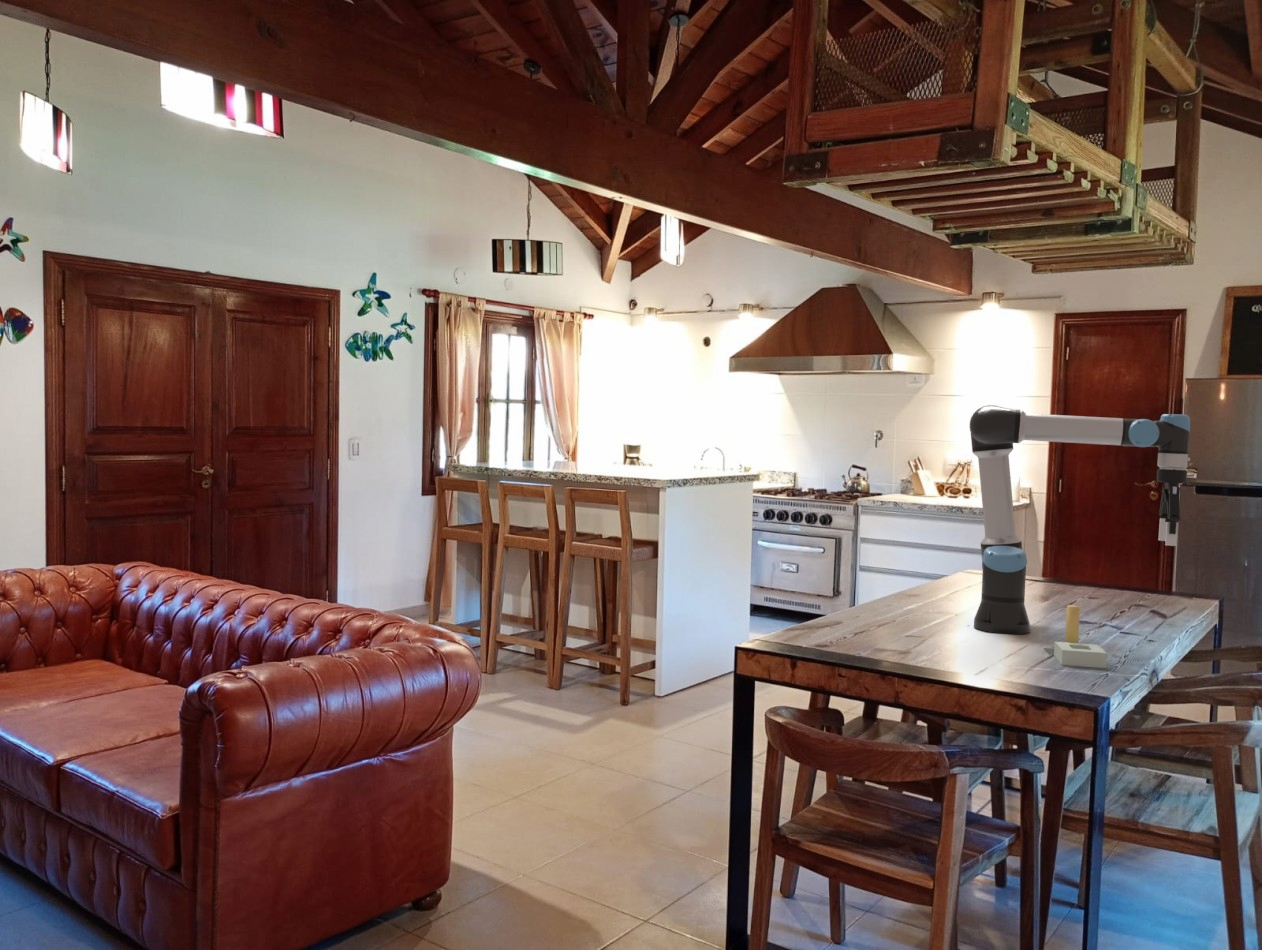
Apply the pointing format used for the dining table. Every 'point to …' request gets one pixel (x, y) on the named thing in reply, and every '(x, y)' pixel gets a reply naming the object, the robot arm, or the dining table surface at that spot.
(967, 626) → the dining table surface
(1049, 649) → the mat
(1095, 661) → the hole block
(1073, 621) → the peg
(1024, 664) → the dining table surface
